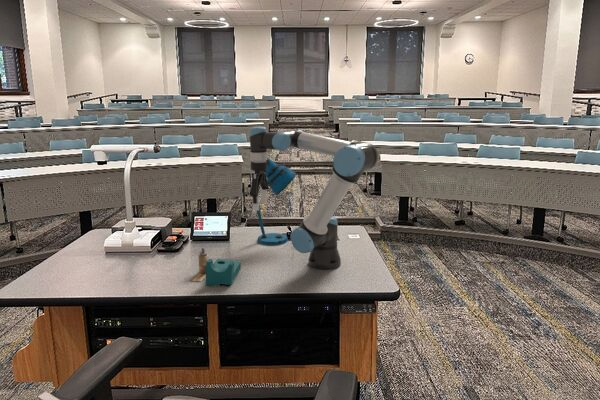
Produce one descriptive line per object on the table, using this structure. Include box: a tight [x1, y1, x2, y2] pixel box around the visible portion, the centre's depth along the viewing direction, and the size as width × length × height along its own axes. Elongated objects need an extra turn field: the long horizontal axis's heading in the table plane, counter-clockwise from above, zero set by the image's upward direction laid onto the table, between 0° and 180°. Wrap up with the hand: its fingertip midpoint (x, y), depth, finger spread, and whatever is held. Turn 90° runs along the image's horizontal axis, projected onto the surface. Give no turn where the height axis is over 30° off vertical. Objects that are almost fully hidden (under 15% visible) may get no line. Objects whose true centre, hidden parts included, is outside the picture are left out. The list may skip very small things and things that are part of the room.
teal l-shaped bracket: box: [205, 258, 242, 287], centre depth 210 cm, size 18×11×10 cm, turn 174°
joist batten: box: [189, 272, 206, 283], centre depth 215 cm, size 5×16×1 cm, turn 168°
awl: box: [197, 247, 210, 274], centre depth 215 cm, size 4×4×11 cm
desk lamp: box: [256, 157, 297, 246], centre depth 256 cm, size 16×22×45 cm
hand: (260, 206), depth 225 cm, fingers open, 13 cm apart
